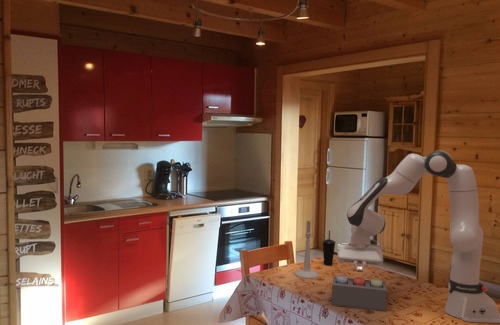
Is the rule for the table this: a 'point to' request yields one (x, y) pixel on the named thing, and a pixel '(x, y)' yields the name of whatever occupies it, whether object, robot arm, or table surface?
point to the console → (359, 295)
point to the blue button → (341, 279)
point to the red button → (359, 281)
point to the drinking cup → (328, 251)
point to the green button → (376, 283)
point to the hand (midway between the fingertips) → (359, 271)
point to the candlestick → (307, 259)
